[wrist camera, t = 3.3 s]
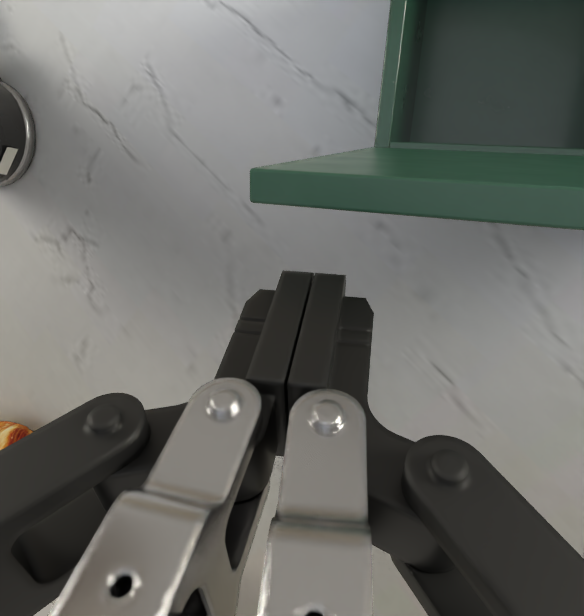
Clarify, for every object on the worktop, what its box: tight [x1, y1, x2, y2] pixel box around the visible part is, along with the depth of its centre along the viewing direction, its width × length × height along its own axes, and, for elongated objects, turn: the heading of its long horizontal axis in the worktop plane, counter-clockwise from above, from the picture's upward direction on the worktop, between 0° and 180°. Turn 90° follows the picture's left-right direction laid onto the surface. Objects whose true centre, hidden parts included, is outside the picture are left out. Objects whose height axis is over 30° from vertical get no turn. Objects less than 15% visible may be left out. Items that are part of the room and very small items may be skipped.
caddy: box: [374, 0, 584, 156], centre depth 26 cm, size 15×13×10 cm
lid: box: [250, 147, 584, 230], centre depth 16 cm, size 15×13×1 cm
